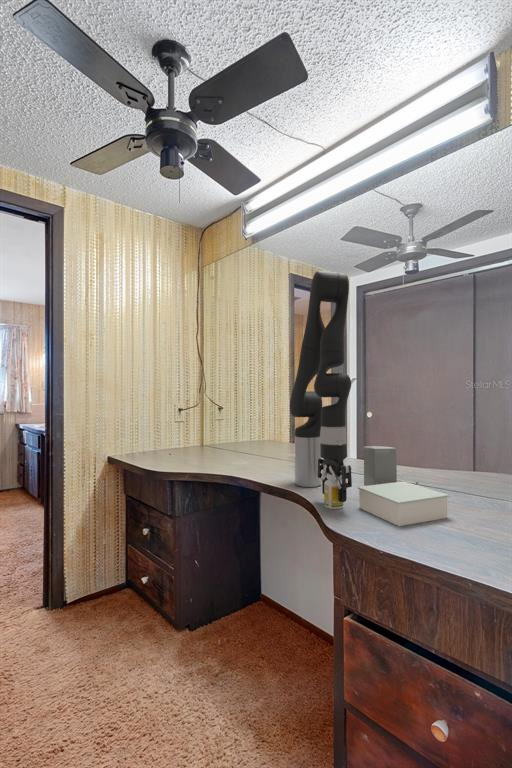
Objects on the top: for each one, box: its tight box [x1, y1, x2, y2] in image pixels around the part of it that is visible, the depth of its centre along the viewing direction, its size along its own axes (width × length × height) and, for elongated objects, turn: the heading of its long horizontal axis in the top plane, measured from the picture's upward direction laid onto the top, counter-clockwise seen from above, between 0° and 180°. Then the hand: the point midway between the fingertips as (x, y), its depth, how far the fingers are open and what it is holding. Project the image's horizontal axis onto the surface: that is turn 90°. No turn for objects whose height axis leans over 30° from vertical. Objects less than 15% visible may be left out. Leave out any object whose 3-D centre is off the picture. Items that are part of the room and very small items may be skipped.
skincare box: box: [363, 445, 398, 486], centre depth 123 cm, size 8×7×16 cm
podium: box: [357, 481, 450, 527], centre depth 108 cm, size 17×17×6 cm
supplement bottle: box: [323, 473, 344, 510], centre depth 114 cm, size 5×5×10 cm
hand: (334, 497), depth 114 cm, fingers open, 8 cm apart
